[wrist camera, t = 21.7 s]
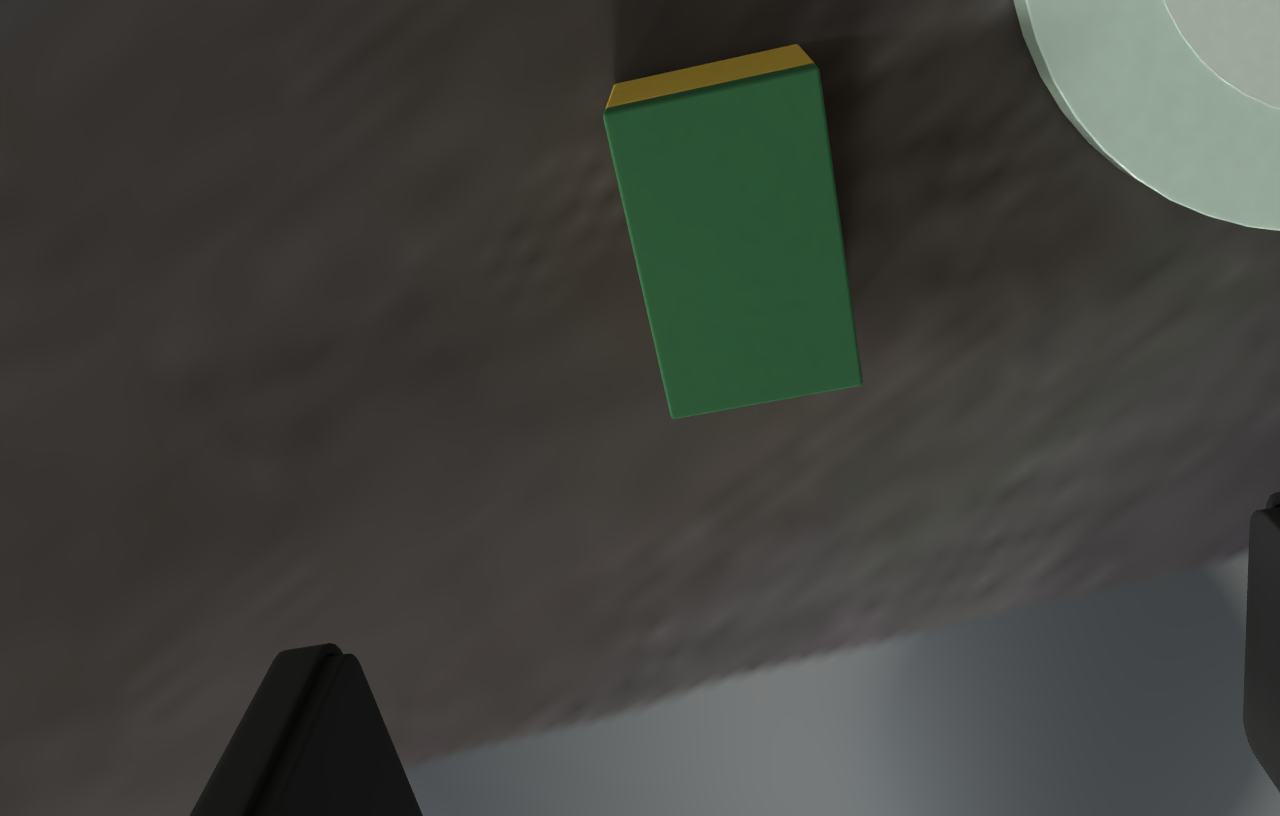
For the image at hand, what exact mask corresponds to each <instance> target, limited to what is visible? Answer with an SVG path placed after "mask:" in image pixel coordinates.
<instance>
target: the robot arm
mask: <svg viewBox="0 0 1280 816" xmlns="http://www.w3.org/2000/svg"><path fill="white" fill-rule="evenodd" d="M1246 620H1247V621H1246V650H1245V677H1244V706H1243V721H1244V728H1245V733H1246V736H1247V739H1248V742H1249V744H1250V747H1251V749H1252V751H1253V753H1254V755H1255V756H1256V758H1257V759H1258V761H1259V762H1260V764H1261V765H1262V767H1263V768H1264V770H1265V771H1266V773H1267V774H1268V776H1269V777H1270V779H1271V780H1272V781H1273V783H1274V785H1275V786H1276V787H1277V789H1278V790H1279V792H1280V492H1276V493H1274V494H1272V495H1271V496H1270V498H1269V500H1268V502H1267V505H1266V509H1263V510H1257V511H1255V512H1254V513H1253V514H1252V516H1251V520H1250V532H1249V561H1248V591H1247V619H1246ZM190 816H423V815H422V813H421V810H420V808H419V806H418V803H417V801H416V798H415V796H414V793H413V791H412V789H411V786H410V784H409V781H408V779H407V777H406V774H405V772H404V769H403V767H402V764H401V762H400V760H399V757H398V755H397V752H396V750H395V747H394V745H393V743H392V740H391V738H390V735H389V733H388V730H387V728H386V726H385V723H384V721H383V718H382V716H381V713H380V711H379V709H378V706H377V704H376V701H375V699H374V697H373V694H372V692H371V689H370V687H369V684H368V682H367V680H366V677H365V675H364V672H363V670H362V667H361V665H360V663H359V661H358V659H357V658H356V657H355V656H354V655H353V654H344V655H343V653H342V651H341V650H340V649H339V648H338V647H337V646H336V645H335V644H331V643H328V644H322V645H316V646H309V647H303V648H297V649H291V650H285V651H282V652H280V653H279V654H278V655H277V656H276V658H275V659H274V660H273V662H272V664H271V666H270V668H269V670H268V672H267V673H266V675H265V677H264V679H263V681H262V683H261V685H260V686H259V688H258V690H257V692H256V694H255V696H254V698H253V699H252V701H251V703H250V705H249V707H248V709H247V710H246V712H245V714H244V716H243V718H242V720H241V722H240V723H239V725H238V727H237V729H236V731H235V733H234V735H233V736H232V738H231V740H230V742H229V744H228V746H227V748H226V749H225V751H224V753H223V755H222V757H221V759H220V761H219V762H218V764H217V766H216V768H215V770H214V772H213V773H212V775H211V777H210V779H209V781H208V783H207V785H206V786H205V788H204V790H203V792H202V794H201V796H200V798H199V799H198V801H197V803H196V805H195V807H194V809H193V811H192V812H191V814H190Z"/></svg>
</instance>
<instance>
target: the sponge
mask: <svg viewBox="0 0 1280 816" xmlns="http://www.w3.org/2000/svg"><path fill="white" fill-rule="evenodd" d="M603 119H604V123H605V128H606V132H607V137H608V141H609V145H610V150H611V154H612V159H613V163H614V168H615V172H616V176H617V181H618V185H619V190H620V194H621V198H622V203H623V207H624V212H625V216H626V220H627V225H628V229H629V234H630V238H631V243H632V247H633V251H634V256H635V260H636V265H637V269H638V273H639V278H640V282H641V287H642V291H643V296H644V300H645V304H646V309H647V313H648V318H649V322H650V326H651V331H652V335H653V340H654V344H655V349H656V353H657V357H658V362H659V366H660V371H661V375H662V379H663V384H664V388H665V393H666V397H667V402H668V406H669V410H670V415H671V417H672V419H677V418H683V417H688V416H694V415H699V414H705V413H710V412H716V411H722V410H727V409H733V408H738V407H744V406H750V405H755V404H761V403H766V402H772V401H777V400H783V399H789V398H794V397H800V396H805V395H811V394H817V393H822V392H828V391H833V390H839V389H844V388H850V387H856V386H860V385H862V383H863V381H862V373H861V366H860V359H859V352H858V344H857V337H856V330H855V323H854V315H853V308H852V301H851V294H850V287H849V279H848V272H847V265H846V258H845V250H844V243H843V236H842V229H841V221H840V214H839V207H838V200H837V192H836V185H835V178H834V171H833V164H832V156H831V149H830V142H829V135H828V127H827V120H826V113H825V106H824V98H823V91H822V84H821V77H820V70H819V68H818V67H817V66H816V65H815V64H814V62H813V61H812V60H811V59H810V58H809V56H808V55H807V54H806V53H805V52H804V51H803V50H802V48H801V47H800V46H799V45H797V44H794V45H790V46H785V47H781V48H776V49H772V50H767V51H762V52H758V53H753V54H749V55H744V56H740V57H735V58H731V59H726V60H722V61H717V62H713V63H708V64H703V65H699V66H694V67H690V68H685V69H681V70H676V71H672V72H667V73H663V74H658V75H653V76H649V77H644V78H640V79H635V80H631V81H626V82H622V83H617V84H615V85H614V87H613V90H612V92H611V95H610V98H609V101H608V103H607V106H606V109H605V111H604V114H603Z"/></svg>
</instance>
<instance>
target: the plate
mask: <svg viewBox="0 0 1280 816" xmlns="http://www.w3.org/2000/svg"><path fill="white" fill-rule="evenodd" d="M1013 1H1014V4H1015V8H1016V12H1017V16H1018V19H1019V23H1020V27H1021V31H1022V34H1023V37H1024V39H1025V41H1026V44H1027V46H1028V49H1029V51H1030V53H1031V56H1032V58H1033V60H1034V63H1035V65H1036V67H1037V70H1038V72H1039V74H1040V76H1041V78H1042V80H1043V81H1044V83H1045V84H1046V86H1047V88H1048V89H1049V91H1050V93H1051V94H1052V96H1053V97H1054V99H1055V101H1056V102H1057V104H1058V106H1059V107H1060V109H1061V111H1062V112H1063V113H1064V114H1065V115H1066V117H1067V118H1068V119H1069V120H1070V121H1071V123H1072V124H1073V125H1074V126H1075V127H1076V128H1077V130H1078V131H1079V132H1080V133H1081V134H1082V135H1083V137H1084V138H1085V139H1086V140H1087V141H1088V143H1090V144H1091V145H1092V146H1093V147H1094V148H1095V149H1097V150H1098V151H1099V152H1100V153H1101V154H1102V155H1103V156H1105V157H1106V158H1107V159H1108V160H1109V161H1110V162H1112V163H1113V164H1114V165H1115V166H1116V167H1117V168H1119V169H1120V170H1122V171H1123V172H1125V173H1126V174H1128V175H1130V176H1131V177H1133V178H1134V179H1136V180H1138V181H1139V182H1141V183H1143V184H1144V185H1146V186H1147V187H1149V188H1151V189H1152V190H1154V191H1156V192H1157V193H1159V194H1161V195H1162V196H1164V197H1166V198H1167V199H1169V200H1171V201H1173V202H1176V203H1178V204H1180V205H1183V206H1185V207H1187V208H1190V209H1192V210H1194V211H1197V212H1199V213H1201V214H1204V215H1206V216H1209V217H1213V218H1216V219H1220V220H1224V221H1228V222H1232V223H1235V224H1239V225H1243V226H1247V227H1253V228H1261V229H1269V230H1277V231H1280V0H1013Z"/></svg>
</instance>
